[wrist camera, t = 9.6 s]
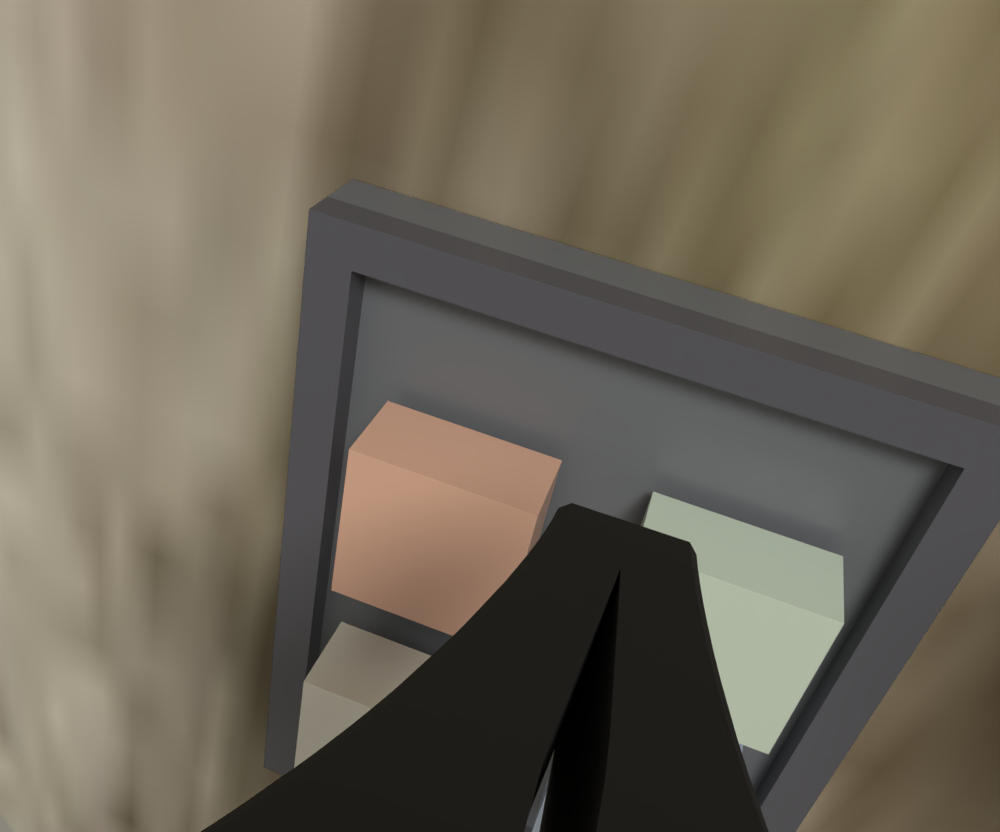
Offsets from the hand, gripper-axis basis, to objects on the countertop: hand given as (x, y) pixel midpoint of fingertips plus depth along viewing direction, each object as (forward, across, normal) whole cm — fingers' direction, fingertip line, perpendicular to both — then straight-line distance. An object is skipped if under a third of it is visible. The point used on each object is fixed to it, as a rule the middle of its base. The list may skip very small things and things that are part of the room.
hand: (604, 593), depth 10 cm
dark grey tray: (+10, 0, +10) cm, 14 cm away
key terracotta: (+9, +3, +7) cm, 12 cm away
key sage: (+9, -3, +7) cm, 12 cm away
